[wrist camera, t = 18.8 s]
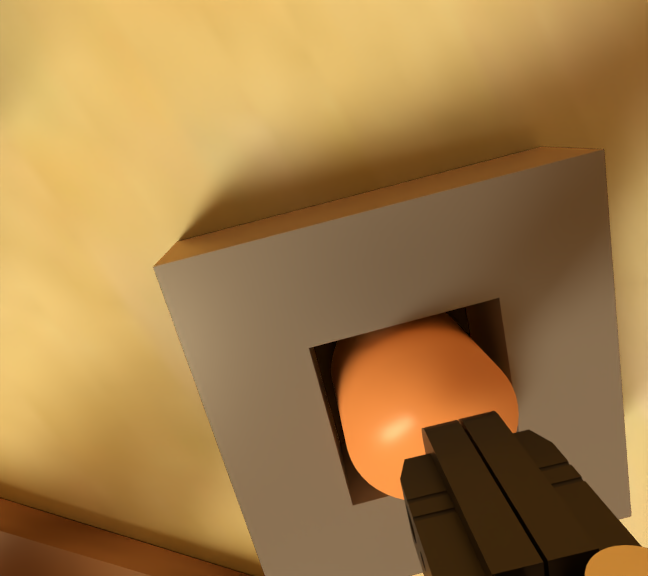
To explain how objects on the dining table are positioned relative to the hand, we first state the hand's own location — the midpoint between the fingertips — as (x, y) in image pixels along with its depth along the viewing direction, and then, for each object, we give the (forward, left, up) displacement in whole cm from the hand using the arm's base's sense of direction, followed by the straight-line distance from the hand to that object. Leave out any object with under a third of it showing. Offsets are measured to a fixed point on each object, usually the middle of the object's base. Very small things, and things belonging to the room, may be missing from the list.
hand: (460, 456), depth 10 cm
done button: (+1, 0, -6) cm, 6 cm away
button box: (+1, 0, -6) cm, 6 cm away
